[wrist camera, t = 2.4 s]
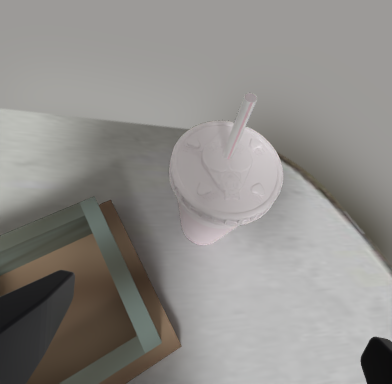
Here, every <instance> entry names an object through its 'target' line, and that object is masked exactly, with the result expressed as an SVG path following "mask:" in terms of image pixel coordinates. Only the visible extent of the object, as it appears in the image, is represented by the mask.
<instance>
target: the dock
mask: <svg viewBox="0 0 392 384" xmlns="http://www.w3.org/2000/svg"><path fill="white" fill-rule="evenodd" d="M58 270H66V271H70V272H73V273H74V274H75V285H74V295H73V299H72V302H71V304H70V306H69V308H68V310H67V312H66V314H65V316H64V318H63V320H62V322H61V324H60V326H59V328H58V330H57V332H56V334H55V336H54V338H53V339H52V341H51V343H50V345H49V347H48V349H47V351H46V353H45V355H44V356H43V358H42V360H41V361H40V363H39V364H38V366H37V368H36V369H35V371H34V372H33V374H32V375H31V377H30V378H29V380H28V381H27V383H26V384H126V383H127V382H129V381H130V380H132V379H133V378H135V377H136V376H138V375H139V374H141V373H142V372H144V371H145V370H147V369H148V368H150V367H151V366H153V365H154V364H156V363H157V362H159V361H160V360H162V359H163V358H165V357H166V356H168V355H169V354H171V353H172V352H174V351H175V350H177V349H178V348H180V347H181V344H180V342H179V340H178V338H177V336H176V334H175V332H174V329H173V327H172V325H171V323H170V321H169V319H168V317H167V315H166V313H165V311H164V309H163V307H162V305H161V303H160V301H159V298H158V296H157V294H156V292H155V290H154V288H153V286H152V284H151V282H150V280H149V278H148V276H147V274H146V272H145V270H144V268H143V265H142V263H141V261H140V259H139V257H138V255H137V253H136V251H135V249H134V247H133V245H132V243H131V241H130V239H129V237H128V234H127V232H126V230H125V228H124V226H123V224H122V222H121V220H120V218H119V216H118V214H117V212H116V210H115V208H114V206H113V204H112V201H111V200H109V201H107V202H104V203H102V204H100V205H98V203H97V201H96V199H95V197H92V198H89V199H87V200H84V201H82V202H80V203H77V204H75V205H72V206H70V207H68V208H65V209H63V210H60V211H58V212H56V213H53V214H51V215H48V216H46V217H44V218H41V219H39V220H36V221H34V222H32V223H29V224H27V225H24V226H22V227H20V228H17V229H15V230H12V231H10V232H8V233H5V234H3V235H0V296H3V295H5V294H7V293H9V292H12V291H14V290H16V289H18V288H21V287H23V286H25V285H27V284H29V283H32V282H34V281H36V280H38V279H41V278H43V277H45V276H47V275H49V274H52V273H54V272H56V271H58Z"/></svg>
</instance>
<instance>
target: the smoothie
mask: <svg viewBox="0 0 392 384" xmlns="http://www.w3.org/2000/svg"><path fill="white" fill-rule="evenodd" d="M256 101H257V97H256V95H254V94H253V93H246V94H245V95H244V98H243V100H242V103H241V106H240V109H239V111H238V114H237V117H236V119H235V122H230V121H210V122H205V123H202V124H199V125H196V126H195V127H192V128H191V129H189V130H188V131H186V132H185V133H184V134H183V135H182V136H181V137H180V138H179V140H178V141H177V142H176V144H175V146H174V148H173V151H172V155H171V160H170V166H169V178H170V184H171V187H172V190H173V192H174V194H175V196H176V198H177V199H178V205H179V212H180V219H181V226H182V230H183V233H184V235H185V236H186V237H187V238H188V239H189V240H190V241H191V242H193V243H195V244H198V245H209V244H212V243H214V242H216V241H217V240H219V239H220V238H222V237H223V236H224V235H226V234H227V233H229V232H230V231H232V230H233V229H234V228H236V227H237V226H239V225H245V224H248V223H250V222H253V221H255V220H257V219H259V218H260V217H262V216H263V215H264V214H265V213H266V212H267V211H268V210H269V209H270V208H271V206H272V204H273V203H274V202H275V200H276V199H277V197H278V196H279V194H280V191H281V189H282V185H283V168H282V164H281V161H280V158H279V156H278V154H277V152H276V151H275V149H274V148H273V146H272V145H271V144H270V143H269V142H268V141H267V140H266V139H265V138H264V137H263V136H262V135H261V134H259V133H258V132H256V131H255V130H253V129H251V128H249V127H247V126H246V124H247V122H248V120H249V117H250V115H251V113H252V110H253V108H254V106H255V103H256Z"/></svg>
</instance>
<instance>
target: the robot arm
mask: <svg viewBox="0 0 392 384" xmlns="http://www.w3.org/2000/svg"><path fill="white" fill-rule="evenodd" d="M74 285H75V274H74V273H73V272H70V271H66V270H58V271H56V272H54V273H52V274H49V275H47V276H45V277H43V278H41V279H38V280H36V281H34V282H32V283H29V284H27V285H25V286H23V287H21V288H18V289H16V290H14V291H12V292H9V293H7V294H5V295H3V296H0V384H26V383H27V381H28V380H29V378H30V377H31V375H32V374H33V372H34V371H35V369H36V368H37V366H38V364H39V363H40V361H41V360H42V358H43V356H44V355H45V353H46V351H47V349H48V347H49V345H50V343H51V341H52V339H53V338H54V336H55V334H56V332H57V330H58V328H59V326H60V324H61V322H62V320H63V318H64V316H65V314H66V312H67V310H68V308H69V306H70V304H71V302H72V299H73V295H74ZM361 366H362V369H363V372H364V375H365V378H366V381H367V384H392V342H391V341H390V340H388V339H384V338H380V337H373V338H371V339H370V341H369V343H368V345H367V346H366V348H365V350H364V352H363V354H362V356H361Z"/></svg>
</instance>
